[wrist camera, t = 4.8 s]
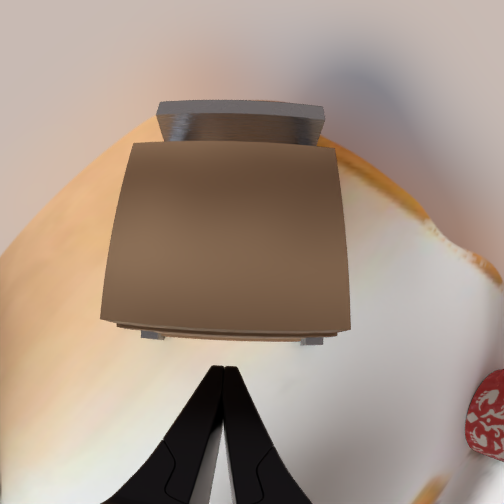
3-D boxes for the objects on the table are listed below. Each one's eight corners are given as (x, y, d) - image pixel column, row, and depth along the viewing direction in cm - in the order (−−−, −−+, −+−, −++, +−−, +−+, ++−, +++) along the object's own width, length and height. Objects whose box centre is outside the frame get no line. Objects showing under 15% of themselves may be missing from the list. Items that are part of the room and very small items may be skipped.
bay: (317, 345, 17) (344, 342, 12) (148, 338, 17) (116, 333, 12) (308, 152, 22) (322, 106, 17) (173, 148, 21) (160, 101, 16)
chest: (292, 342, 17) (353, 333, 8) (171, 337, 17) (97, 322, 7) (291, 243, 19) (336, 146, 10) (179, 239, 19) (131, 141, 9)
